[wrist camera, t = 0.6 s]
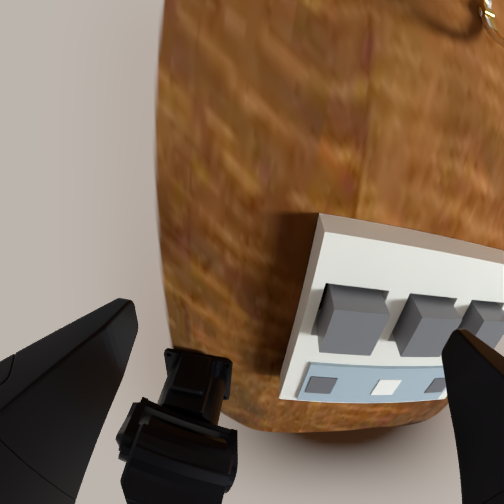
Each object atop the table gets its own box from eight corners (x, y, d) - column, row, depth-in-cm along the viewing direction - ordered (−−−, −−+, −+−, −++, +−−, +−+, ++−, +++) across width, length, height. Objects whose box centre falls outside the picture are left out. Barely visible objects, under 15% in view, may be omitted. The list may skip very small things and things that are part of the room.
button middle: (428, 332, 20) (439, 357, 17) (391, 330, 20) (400, 356, 18) (447, 296, 18) (462, 319, 16) (409, 291, 18) (422, 317, 16)
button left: (363, 328, 20) (370, 355, 18) (316, 323, 20) (319, 352, 18) (379, 288, 18) (390, 314, 16) (328, 281, 19) (334, 309, 16)
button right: (477, 333, 20) (489, 354, 17) (449, 333, 20) (461, 356, 17) (495, 300, 18) (511, 321, 15) (468, 298, 18) (484, 320, 16)
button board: (437, 378, 26) (445, 401, 23) (280, 373, 26) (278, 402, 23) (508, 251, 18) (529, 271, 15) (319, 212, 19) (325, 234, 16)
